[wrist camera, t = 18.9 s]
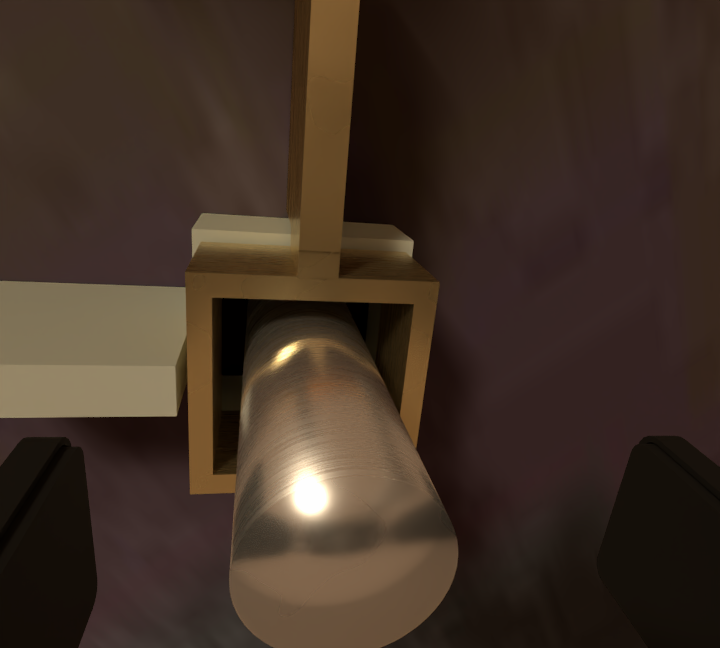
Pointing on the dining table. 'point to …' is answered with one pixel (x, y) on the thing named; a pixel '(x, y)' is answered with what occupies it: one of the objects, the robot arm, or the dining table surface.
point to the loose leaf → (130, 333)
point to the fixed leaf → (306, 254)
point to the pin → (329, 490)
